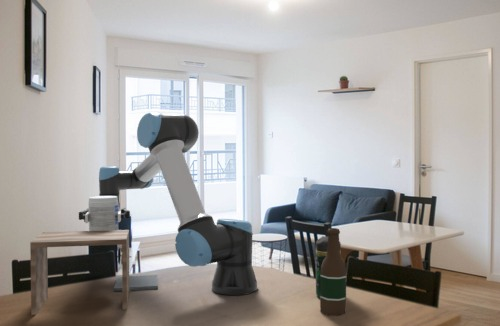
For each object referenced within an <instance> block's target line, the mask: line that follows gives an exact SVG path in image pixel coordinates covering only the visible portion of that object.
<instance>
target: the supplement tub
mask: <svg viewBox="0 0 500 326" xmlns="http://www.w3.org/2000/svg"><path fill="white" fill-rule="evenodd" d="M88 209H89V222H88V231H107V230H120V229H119V222H118V198H117V196H99V195H96V196H89V198H88Z"/></svg>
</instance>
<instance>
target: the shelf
mask: <svg viewBox="0 0 500 326" xmlns="http://www.w3.org/2000/svg"><path fill="white" fill-rule="evenodd" d="M117 245H119V246H121V257H122V258H121V259H122V260H121V261H122V262H121V267H122V275H121V277H122V291H121V292H122V295H121V296H122V310H124V311H125V310H127V309H128V305H129V299H130V290H129V276H130V229H119V230H107V231H89V230H80V231H79V230H78V231H77V230H75V231H48V232H47V231H46V232H42V233H41V234H39V235H38V236H36V237H35V238H34V239H33V240H32V241H30V248H29V249H30V251H29V252H30V314H31V316H37V314H38V313H39V311H40V310H41V308H42V307H43V305H44V304H45V302H46V301H47V299H48V298H49V286H48V285H49V280H48V279H49V278H48V277H49V276H48V275H49V274H48V271H49V269H48V265H49V264H48V248H62V247H63V248H64V247H89V246H94V247H95V246H117Z"/></svg>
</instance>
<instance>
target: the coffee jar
mask: <svg viewBox="0 0 500 326" xmlns="http://www.w3.org/2000/svg"><path fill="white" fill-rule="evenodd" d="M341 245H342V244H341V241H340V240H339V247H340V256H341V257H342V254H341V252H342V251H341V250H342V249H341V247H342V246H341ZM327 248H328V235H327V236H321V237H320V238H318V239H316V242H315V295H316V296H317V297H318V298H320V276H321V265H322V262H323V260H324V259H325V257H326V255H327Z"/></svg>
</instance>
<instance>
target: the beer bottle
mask: <svg viewBox="0 0 500 326" xmlns="http://www.w3.org/2000/svg"><path fill="white" fill-rule="evenodd" d="M327 234H328V235H327V237H328V248H327V255H326V257H325V259H324V260H323V262H322V265H321V276H320V297H319V299H320V302H319V303H320V304H319V307H320V313H321V314H323V315H325V316H331V317H340V316H344V315H346V311H347V267H346V264H345V262H344V259H343V258H342V255H341V256H340V247H339V241H340V234H341V231H340V229H339V228H336V227H330V228H328V229H327Z"/></svg>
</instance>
